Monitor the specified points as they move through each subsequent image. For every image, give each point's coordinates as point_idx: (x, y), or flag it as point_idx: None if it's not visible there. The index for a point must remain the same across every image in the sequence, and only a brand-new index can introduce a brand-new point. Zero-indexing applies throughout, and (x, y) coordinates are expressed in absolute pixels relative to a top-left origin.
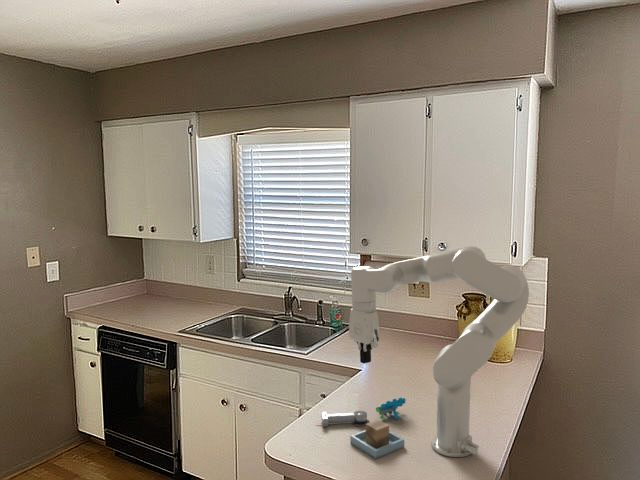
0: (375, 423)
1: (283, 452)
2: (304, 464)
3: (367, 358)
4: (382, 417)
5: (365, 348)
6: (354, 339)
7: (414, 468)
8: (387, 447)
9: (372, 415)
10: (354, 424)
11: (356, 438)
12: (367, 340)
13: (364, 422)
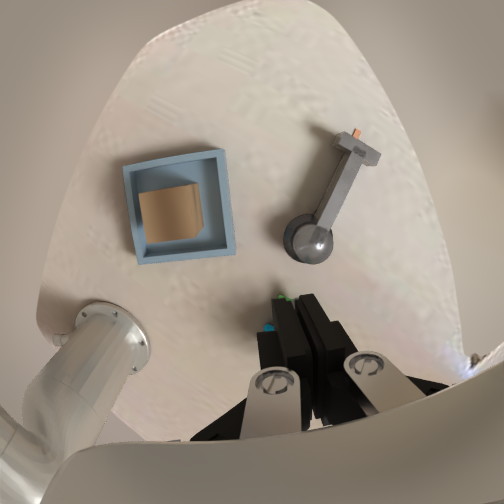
0: (175, 214)
1: (274, 8)
2: (201, 22)
3: (258, 347)
4: (286, 298)
5: (257, 400)
6: (472, 384)
7: (73, 223)
8: (128, 206)
9: (321, 288)
10: (305, 216)
11: (200, 155)
12: (65, 490)
13: (291, 242)
